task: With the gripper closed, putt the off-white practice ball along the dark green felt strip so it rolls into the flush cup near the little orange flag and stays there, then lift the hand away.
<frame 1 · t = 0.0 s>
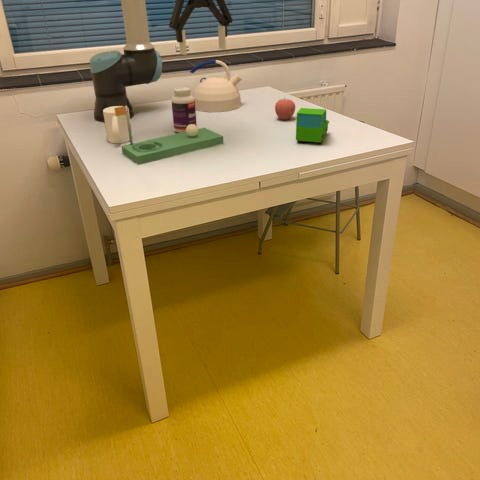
hand: (203, 51, 143), 28 cm above the table, fingers open, 13 cm apart
ball: (192, 136, 154), point 2 cm above the table, touching putting mat
apple: (284, 119, 177), on the table
mug: (119, 141, 160), on the table
kettle: (217, 106, 197), on the table
putting mat: (173, 148, 152), on the table
flag pin: (132, 152, 150), resting on putting mat
pill bottle: (185, 131, 168), on the table
toy car: (312, 139, 158), on the table
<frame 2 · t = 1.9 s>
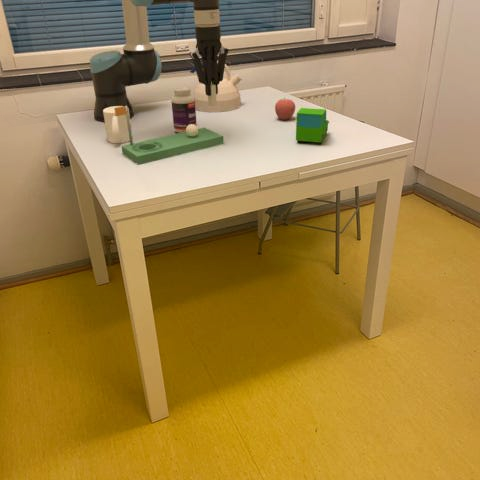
hand: (212, 105, 153), 11 cm above the table, fingers closed
nothing on the table moved.
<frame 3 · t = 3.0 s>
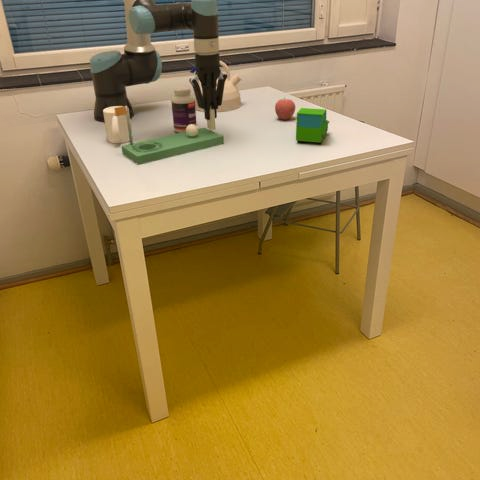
hand: (211, 128, 157), 4 cm above the table, fingers closed
nothing on the table moved.
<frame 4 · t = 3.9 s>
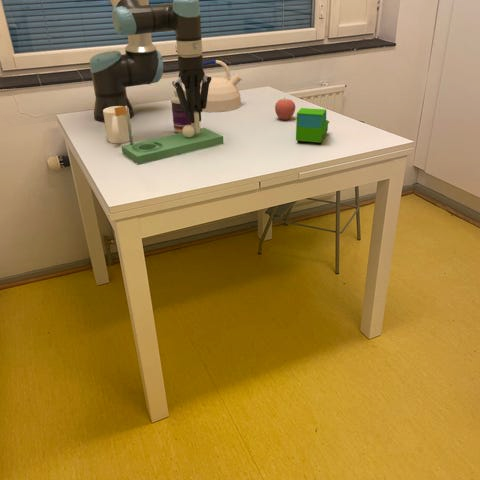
hand: (196, 132, 154), 4 cm above the table, fingers closed
ball: (191, 135, 154), point 3 cm above the table, tilted 30°, touching gripper, putting mat
everything else where it was.
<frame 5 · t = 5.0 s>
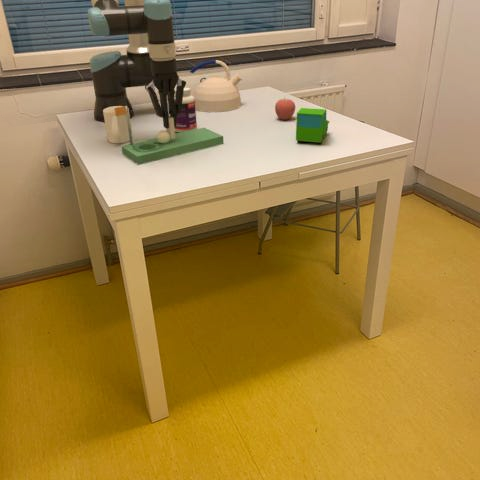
hand: (171, 137, 150), 4 cm above the table, fingers closed
ball: (158, 134, 147), point 6 cm above the table, tilted 123°, touching gripper, putting mat
everything else where it was.
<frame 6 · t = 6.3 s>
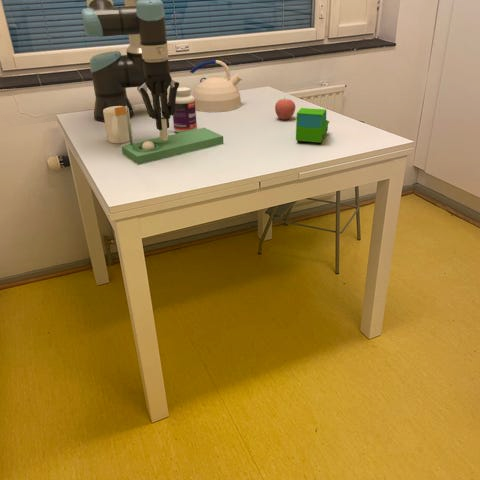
hand: (164, 139, 149), 4 cm above the table, fingers closed
ball: (153, 151, 149), point 1 cm above the table, tilted 43°
everything else where it was.
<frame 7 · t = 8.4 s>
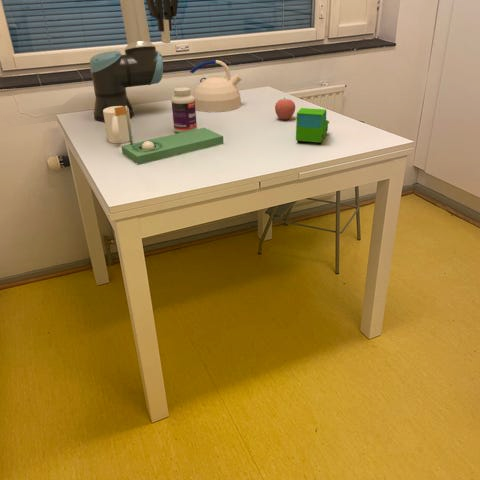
hand: (166, 42, 146), 30 cm above the table, fingers closed
nothing on the table moved.
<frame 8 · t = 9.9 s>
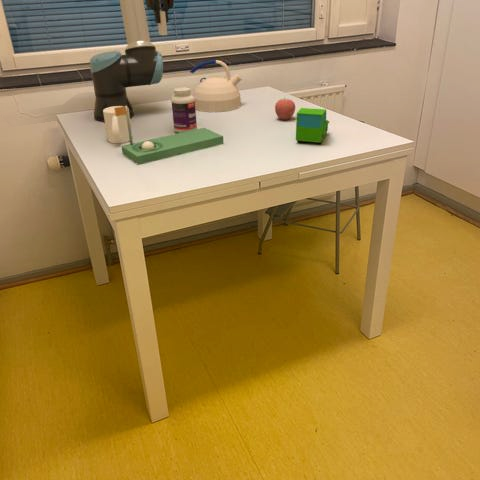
hand: (163, 34, 145), 32 cm above the table, fingers closed
nothing on the table moved.
at the end: ball 1.9 cm from the target spot in the putting mat, point 0.6 cm above the putting mat's base; the gripper is holding nothing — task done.
